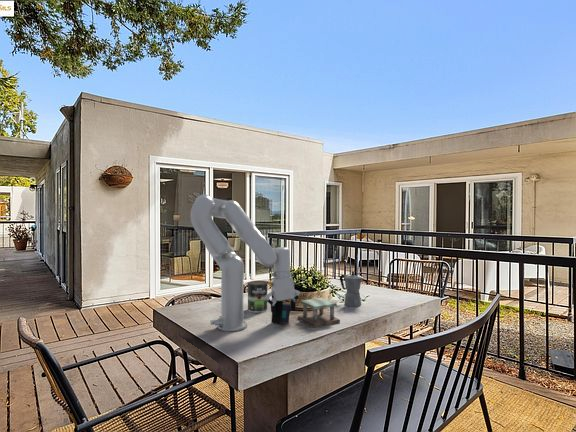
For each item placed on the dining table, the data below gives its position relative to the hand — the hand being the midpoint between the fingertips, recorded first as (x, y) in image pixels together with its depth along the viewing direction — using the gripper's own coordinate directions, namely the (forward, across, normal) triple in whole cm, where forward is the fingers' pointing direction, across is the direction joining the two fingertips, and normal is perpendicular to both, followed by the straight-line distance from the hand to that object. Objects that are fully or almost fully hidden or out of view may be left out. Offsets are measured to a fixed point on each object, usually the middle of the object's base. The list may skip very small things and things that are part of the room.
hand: (283, 311), depth 156 cm
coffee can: (+5, -3, +24) cm, 25 cm away
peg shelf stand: (+5, +15, -6) cm, 17 cm away
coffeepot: (+6, +47, +11) cm, 49 cm away
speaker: (+5, -1, 0) cm, 5 cm away
